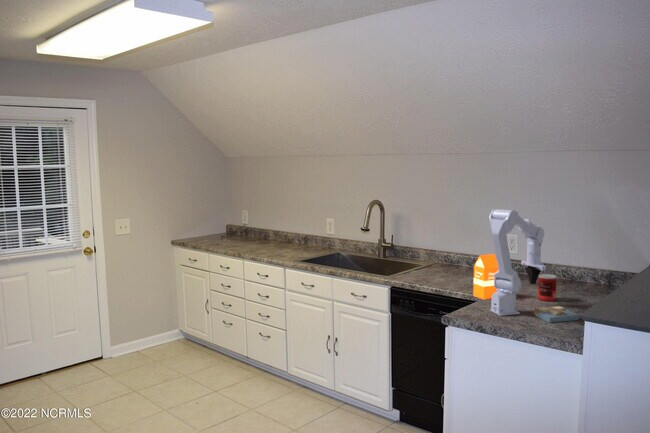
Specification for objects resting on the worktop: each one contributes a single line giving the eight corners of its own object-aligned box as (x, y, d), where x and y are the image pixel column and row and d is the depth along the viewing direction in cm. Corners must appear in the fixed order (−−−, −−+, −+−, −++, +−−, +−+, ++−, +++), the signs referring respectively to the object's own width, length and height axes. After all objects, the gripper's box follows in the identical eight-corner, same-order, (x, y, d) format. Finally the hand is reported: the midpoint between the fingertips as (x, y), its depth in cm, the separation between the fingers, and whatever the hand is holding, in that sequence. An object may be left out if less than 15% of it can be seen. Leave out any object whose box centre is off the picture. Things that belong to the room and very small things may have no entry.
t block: (547, 320, 213) (547, 313, 212) (534, 315, 220) (535, 308, 220) (573, 318, 216) (573, 311, 215) (559, 313, 223) (560, 306, 223)
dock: (549, 322, 210) (549, 317, 210) (538, 317, 217) (538, 312, 217) (578, 319, 214) (578, 314, 214) (566, 314, 221) (566, 310, 220)
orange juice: (473, 295, 253) (474, 254, 251) (488, 293, 256) (489, 252, 254) (483, 299, 246) (484, 256, 244) (499, 297, 249) (500, 255, 247)
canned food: (550, 297, 250) (551, 273, 248) (559, 301, 242) (559, 277, 240) (534, 297, 249) (535, 274, 248) (542, 301, 241) (543, 277, 240)
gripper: (552, 255, 228) (551, 286, 230) (531, 250, 242) (530, 279, 244) (538, 256, 227) (537, 287, 228) (517, 251, 241) (516, 280, 242)
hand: (532, 283), depth 236 cm, fingers closed
